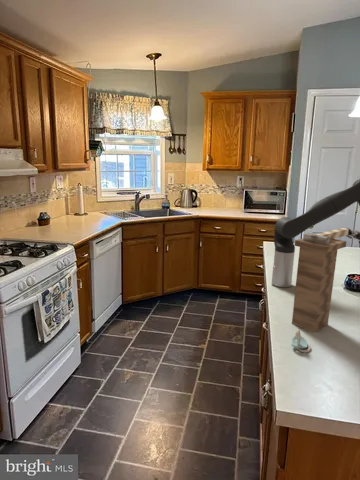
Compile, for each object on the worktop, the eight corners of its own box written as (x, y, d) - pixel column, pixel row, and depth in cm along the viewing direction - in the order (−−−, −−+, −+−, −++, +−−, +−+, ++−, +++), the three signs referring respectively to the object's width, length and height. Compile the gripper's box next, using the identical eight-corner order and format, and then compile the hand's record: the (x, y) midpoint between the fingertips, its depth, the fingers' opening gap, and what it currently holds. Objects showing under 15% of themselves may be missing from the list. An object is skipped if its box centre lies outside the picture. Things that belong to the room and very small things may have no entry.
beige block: (324, 244, 117) (325, 238, 117) (303, 240, 123) (303, 233, 123) (355, 236, 133) (356, 230, 132) (334, 232, 139) (335, 226, 138)
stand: (316, 335, 122) (327, 246, 115) (286, 322, 131) (295, 240, 123) (335, 323, 131) (346, 241, 124) (306, 312, 139) (314, 235, 132)
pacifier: (311, 345, 116) (292, 340, 118) (313, 328, 114) (294, 323, 116) (310, 356, 109) (290, 351, 111) (312, 338, 107) (292, 333, 110)
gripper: (357, 231, 160) (342, 221, 150) (390, 236, 149) (376, 225, 139) (352, 246, 160) (337, 237, 150) (385, 252, 149) (371, 243, 139)
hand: (356, 231), depth 144 cm, fingers open, 8 cm apart
